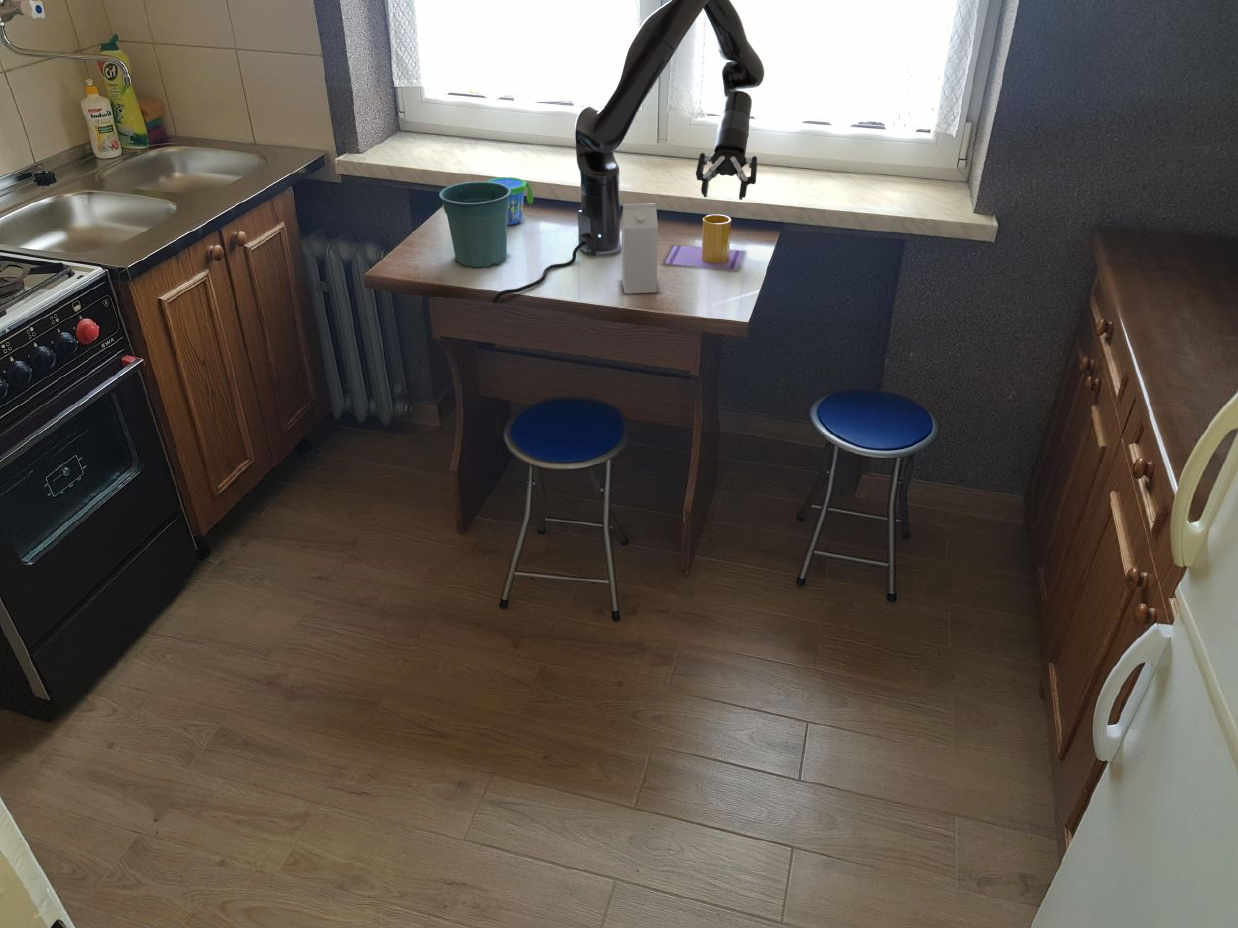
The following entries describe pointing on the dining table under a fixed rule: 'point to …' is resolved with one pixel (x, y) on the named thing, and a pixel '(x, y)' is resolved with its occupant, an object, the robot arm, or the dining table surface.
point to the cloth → (693, 258)
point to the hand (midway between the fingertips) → (722, 197)
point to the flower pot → (477, 221)
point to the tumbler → (716, 238)
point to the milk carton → (639, 248)
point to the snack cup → (515, 197)
